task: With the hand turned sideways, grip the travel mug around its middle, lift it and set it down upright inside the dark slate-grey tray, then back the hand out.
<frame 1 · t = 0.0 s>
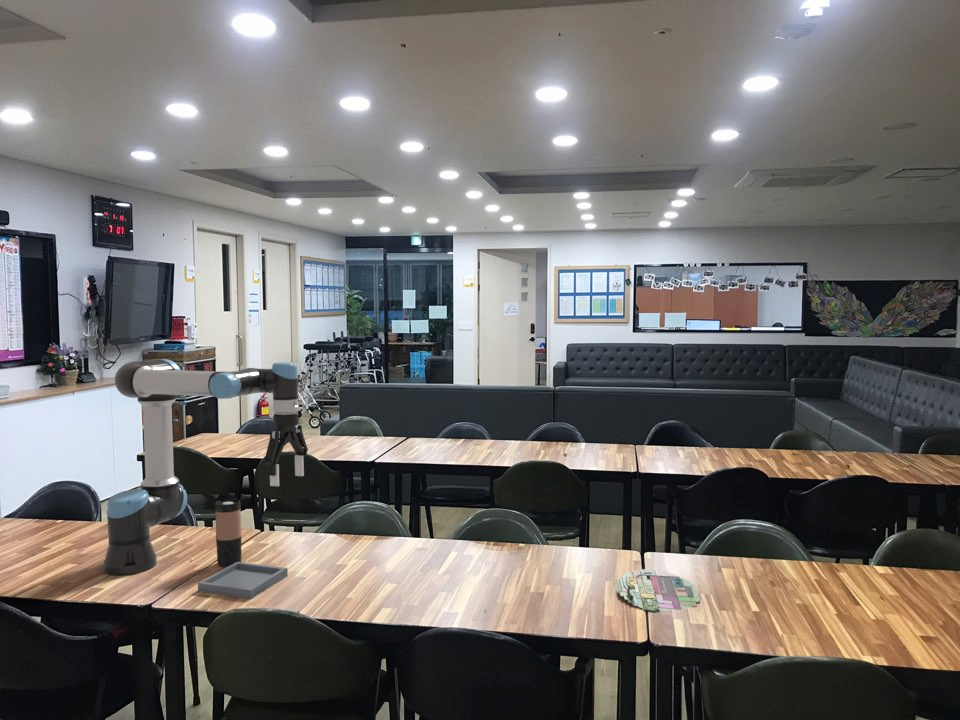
hand: (287, 480, 218), 28 cm above the table, tool pointing down, fingers open, 13 cm apart
city model: (656, 598, 198), on the table
slate tray: (244, 583, 208), on the table
travel mug: (229, 563, 225), on the table
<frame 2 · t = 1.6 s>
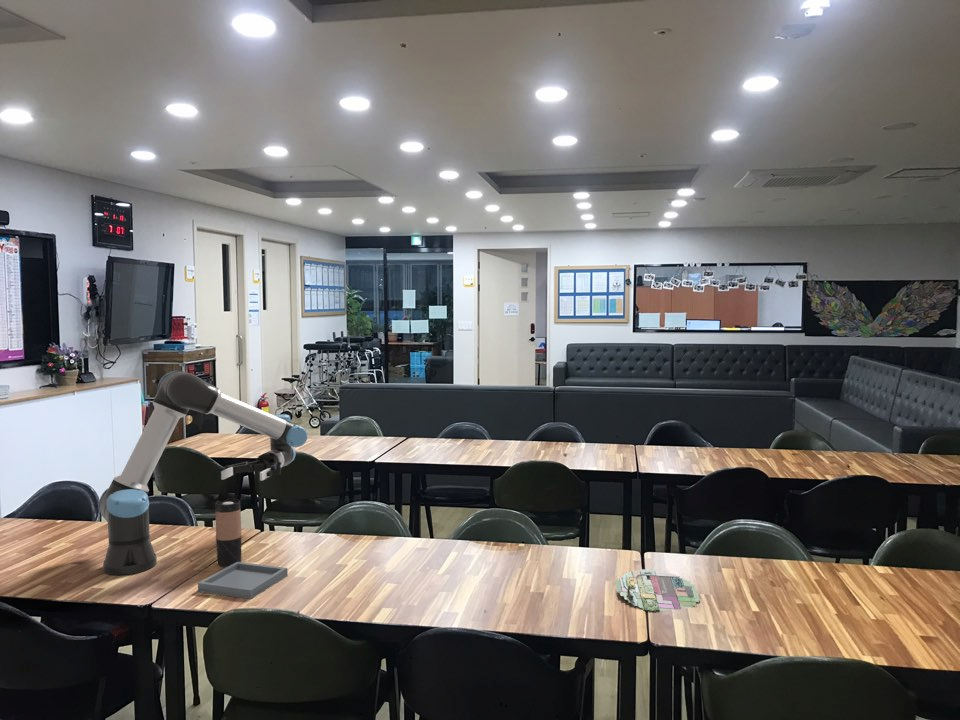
hand: (241, 476, 233), 26 cm above the table, tool horizontal, fingers open, 13 cm apart
nothing on the table moved.
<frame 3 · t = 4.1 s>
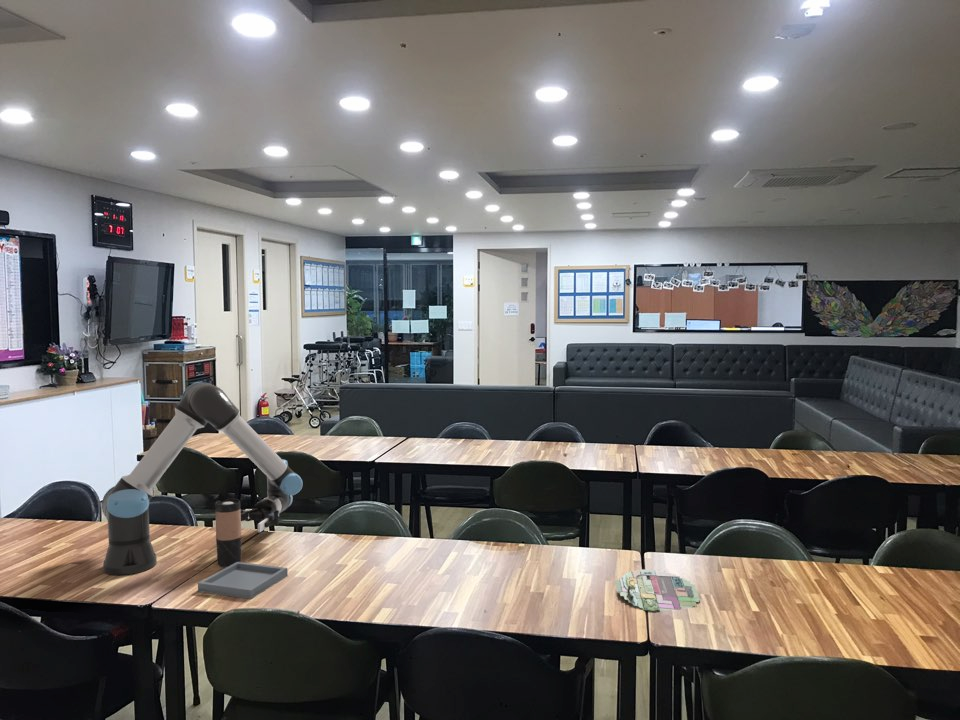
hand: (239, 527, 230), 10 cm above the table, tool horizontal, fingers open, 13 cm apart
nothing on the table moved.
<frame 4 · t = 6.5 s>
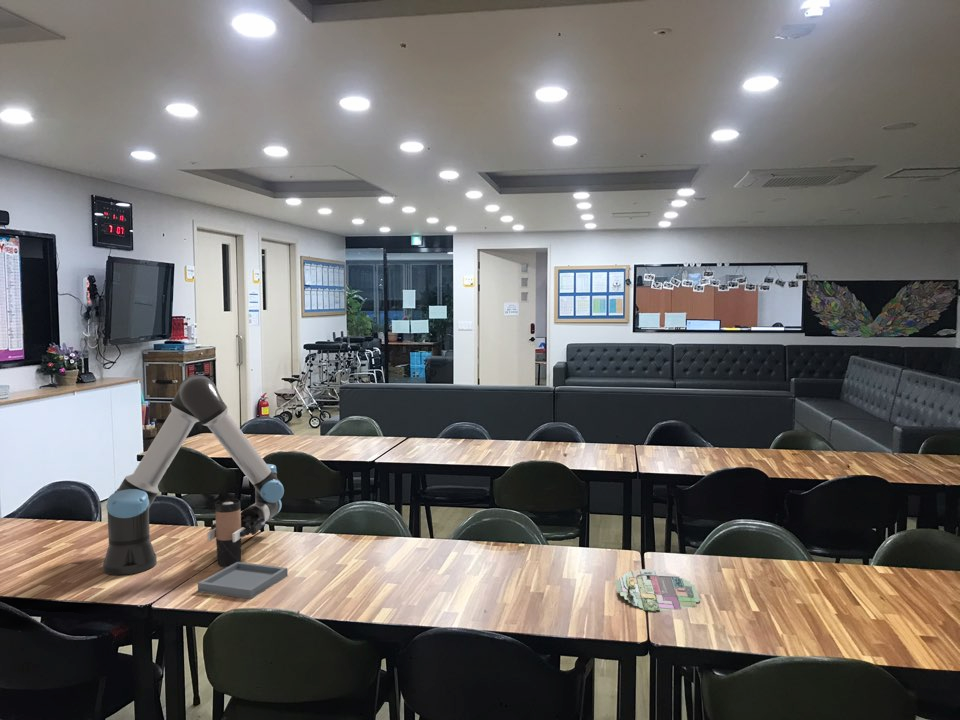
hand: (221, 537, 220), 10 cm above the table, tool horizontal, fingers closed on travel mug, 8 cm apart
travel mug: (229, 563, 225), on the table, touching gripper
everything else where it was.
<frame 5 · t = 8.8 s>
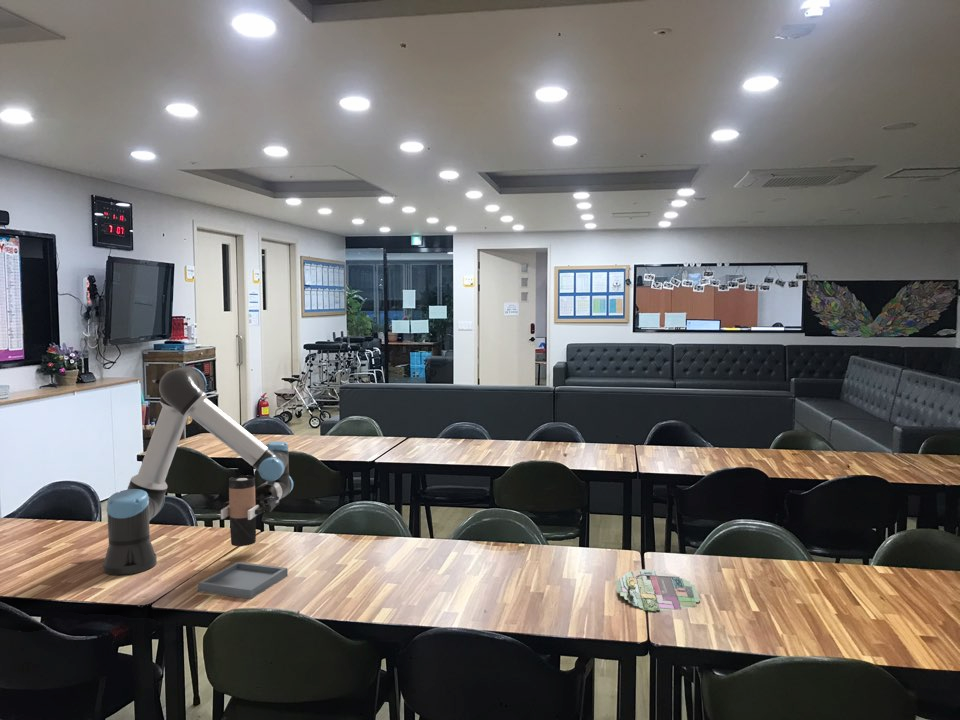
hand: (235, 514, 209), 20 cm above the table, tool horizontal, fingers closed on travel mug, 8 cm apart
travel mug: (243, 543, 215), point 10 cm above the table, touching gripper
everything else where it was.
when the fingers open (12 cm above the table, at t = 11.1 s): travel mug drops 1 cm, resting on slate tray.
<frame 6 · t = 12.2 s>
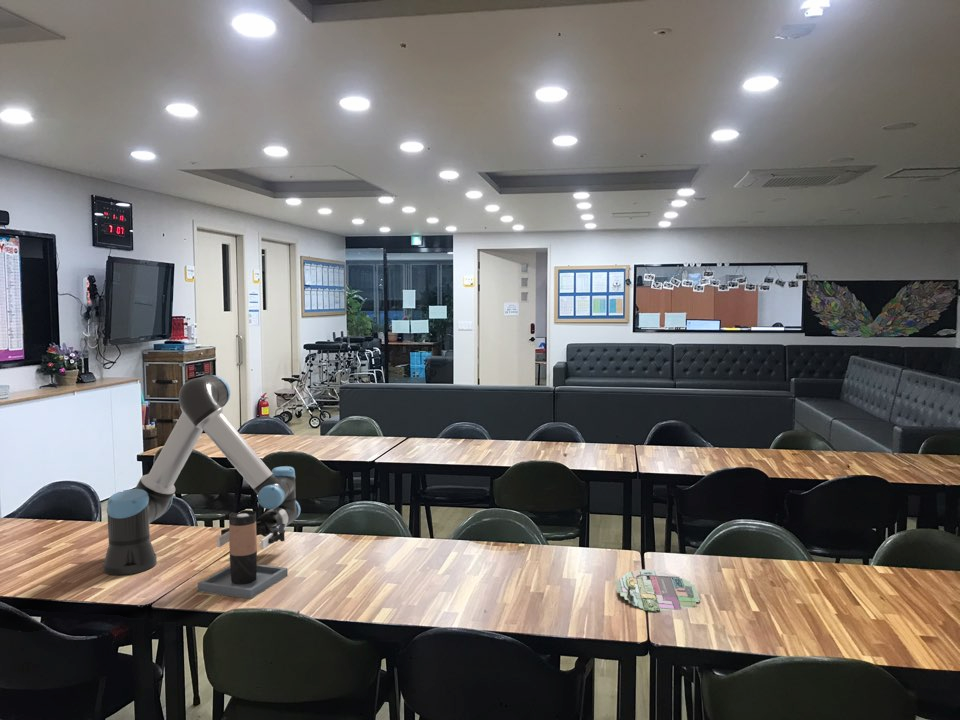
hand: (240, 543, 206), 13 cm above the table, tool horizontal, fingers open, 13 cm apart
travel mug: (243, 580, 208), point 1 cm above the table, touching slate tray
everything else where it was.
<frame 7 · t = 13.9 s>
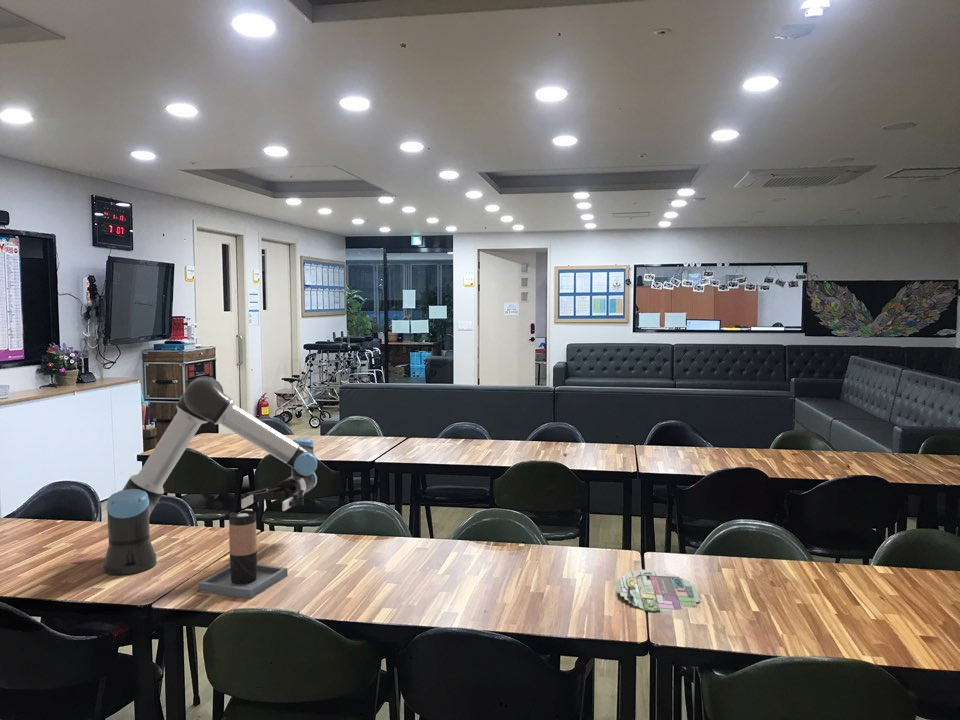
hand: (262, 505, 220), 20 cm above the table, tool horizontal, fingers open, 13 cm apart
nothing on the table moved.
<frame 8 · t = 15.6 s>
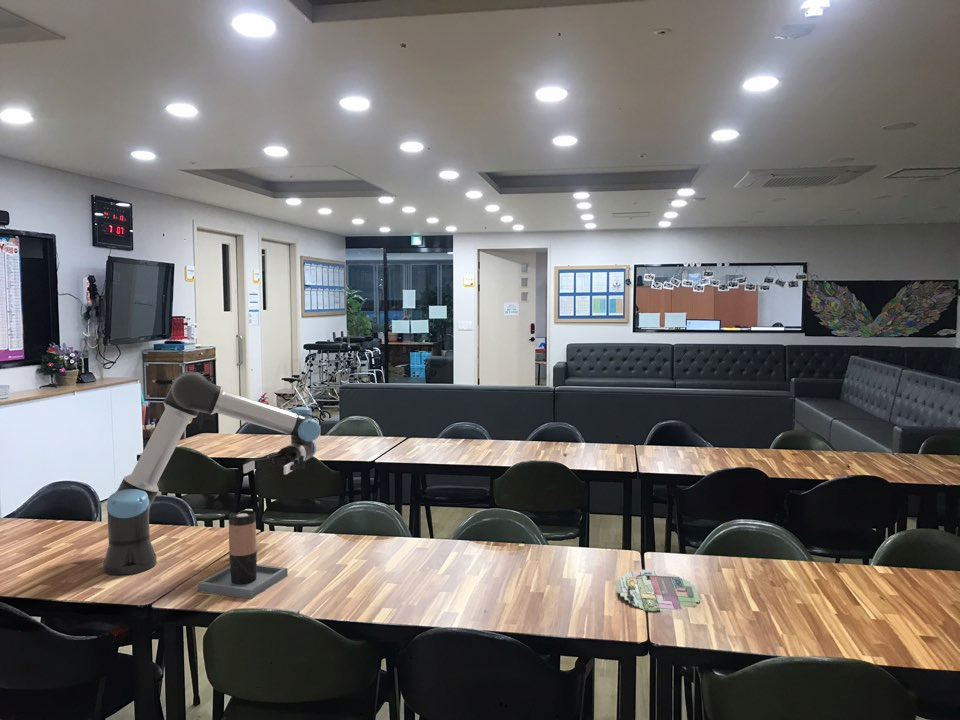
hand: (264, 469, 225), 30 cm above the table, tool horizontal, fingers open, 13 cm apart
nothing on the table moved.
at the end: travel mug inside the target area on the slate tray (0.1 cm from its centre), point 0.8 cm above the slate tray's base; travel mug tilted 0°; the gripper is holding nothing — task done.
